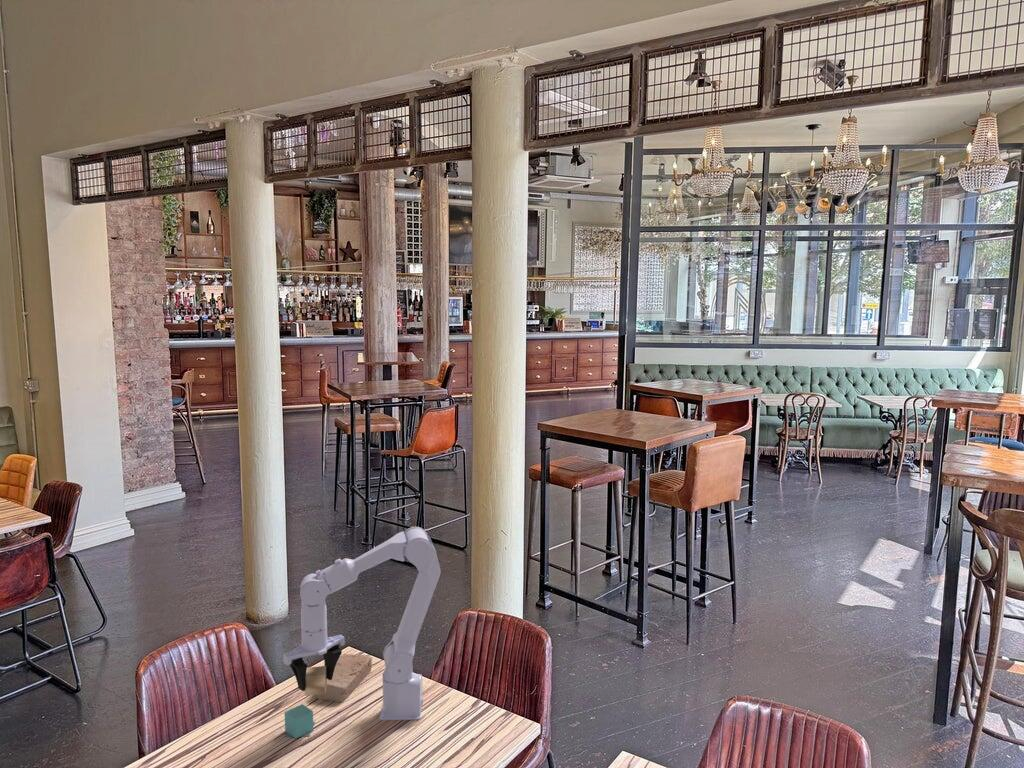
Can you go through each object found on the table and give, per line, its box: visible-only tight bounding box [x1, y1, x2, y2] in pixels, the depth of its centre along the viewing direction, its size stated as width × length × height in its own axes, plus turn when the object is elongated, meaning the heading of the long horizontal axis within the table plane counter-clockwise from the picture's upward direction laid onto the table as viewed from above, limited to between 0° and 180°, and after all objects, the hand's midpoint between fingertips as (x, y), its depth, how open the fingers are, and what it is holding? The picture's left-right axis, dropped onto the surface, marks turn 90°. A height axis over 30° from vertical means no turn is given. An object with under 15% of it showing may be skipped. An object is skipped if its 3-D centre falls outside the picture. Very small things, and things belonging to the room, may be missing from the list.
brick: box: [314, 653, 373, 703], centre depth 179 cm, size 17×8×5 cm, turn 167°
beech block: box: [303, 665, 327, 697], centre depth 161 cm, size 4×4×4 cm
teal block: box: [284, 703, 314, 739], centre depth 158 cm, size 4×4×4 cm
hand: (315, 683), depth 161 cm, fingers closed on beech block, 6 cm apart
